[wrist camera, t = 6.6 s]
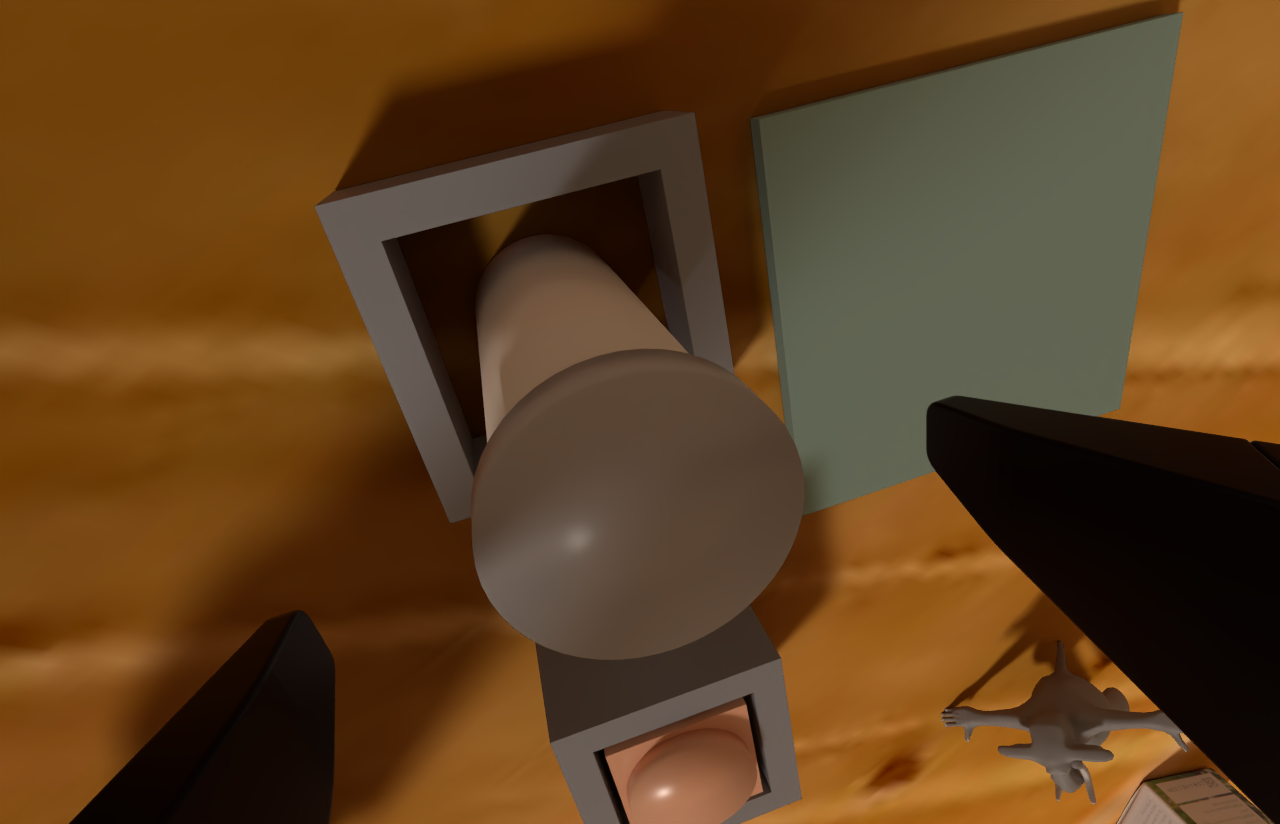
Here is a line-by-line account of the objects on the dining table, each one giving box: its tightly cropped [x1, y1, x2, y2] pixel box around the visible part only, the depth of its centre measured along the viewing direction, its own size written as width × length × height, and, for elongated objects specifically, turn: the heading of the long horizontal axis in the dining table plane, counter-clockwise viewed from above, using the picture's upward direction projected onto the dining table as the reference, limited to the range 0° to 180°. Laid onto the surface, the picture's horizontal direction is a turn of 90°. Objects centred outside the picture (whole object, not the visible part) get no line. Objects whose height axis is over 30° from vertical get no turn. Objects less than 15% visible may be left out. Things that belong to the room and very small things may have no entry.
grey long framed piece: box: [315, 110, 802, 824], centre depth 19 cm, size 22×8×5 cm, turn 12°
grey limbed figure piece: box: [941, 641, 1188, 804], centre depth 30 cm, size 10×6×9 cm
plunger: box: [604, 697, 763, 824], centre depth 22 cm, size 4×4×6 cm
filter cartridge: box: [471, 234, 805, 660], centre depth 14 cm, size 5×5×11 cm
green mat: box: [750, 12, 1183, 516], centre depth 21 cm, size 13×13×1 cm
